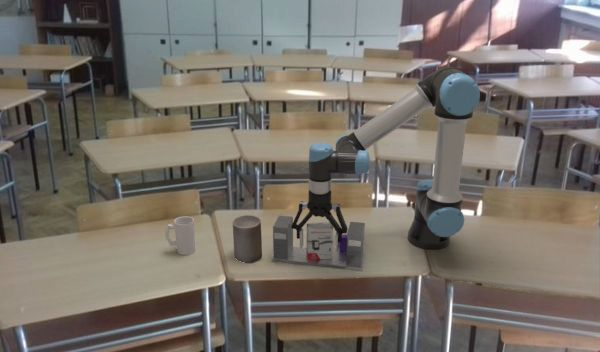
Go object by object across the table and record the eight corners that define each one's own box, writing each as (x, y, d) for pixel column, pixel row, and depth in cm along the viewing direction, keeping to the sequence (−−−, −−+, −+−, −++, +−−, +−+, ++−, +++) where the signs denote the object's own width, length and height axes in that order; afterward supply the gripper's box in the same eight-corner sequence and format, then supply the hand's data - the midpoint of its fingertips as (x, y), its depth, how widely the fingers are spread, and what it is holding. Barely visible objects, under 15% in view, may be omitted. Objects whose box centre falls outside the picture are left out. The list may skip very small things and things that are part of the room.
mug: (195, 245, 207) (193, 215, 202) (196, 254, 201) (194, 223, 196) (167, 248, 205) (164, 217, 201) (167, 257, 199) (164, 226, 194)
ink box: (307, 260, 195) (307, 229, 191) (306, 253, 200) (306, 222, 195) (332, 259, 196) (333, 228, 191) (330, 252, 200) (331, 221, 196)
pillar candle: (260, 248, 205) (259, 210, 199) (263, 262, 196) (262, 222, 190) (233, 251, 203) (231, 213, 198) (235, 265, 194) (232, 225, 189)
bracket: (359, 254, 202) (360, 237, 199) (339, 254, 202) (340, 237, 199) (355, 238, 213) (355, 222, 210) (336, 238, 213) (337, 222, 210)
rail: (364, 256, 200) (366, 222, 195) (362, 271, 191) (364, 235, 186) (278, 248, 205) (277, 214, 200) (271, 261, 196) (271, 227, 191)
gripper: (357, 188, 190) (354, 246, 198) (286, 183, 194) (287, 240, 202) (355, 197, 183) (352, 257, 191) (282, 191, 187) (282, 250, 195)
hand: (318, 248), depth 197 cm, fingers open, 11 cm apart
